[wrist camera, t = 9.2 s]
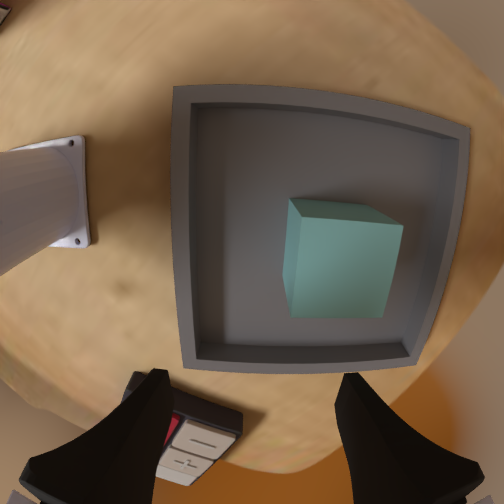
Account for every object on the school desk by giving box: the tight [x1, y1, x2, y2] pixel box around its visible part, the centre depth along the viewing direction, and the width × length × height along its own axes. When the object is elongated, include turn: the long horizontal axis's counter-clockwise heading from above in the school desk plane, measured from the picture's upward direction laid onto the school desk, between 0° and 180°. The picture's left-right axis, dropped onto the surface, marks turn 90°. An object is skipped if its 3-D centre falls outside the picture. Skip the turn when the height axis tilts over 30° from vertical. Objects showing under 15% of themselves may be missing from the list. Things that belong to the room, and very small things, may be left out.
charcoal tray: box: [170, 84, 470, 374], centre depth 17 cm, size 18×18×2 cm
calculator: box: [121, 371, 243, 486], centre depth 24 cm, size 11×4×15 cm
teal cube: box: [282, 198, 403, 318], centre depth 15 cm, size 5×5×5 cm
